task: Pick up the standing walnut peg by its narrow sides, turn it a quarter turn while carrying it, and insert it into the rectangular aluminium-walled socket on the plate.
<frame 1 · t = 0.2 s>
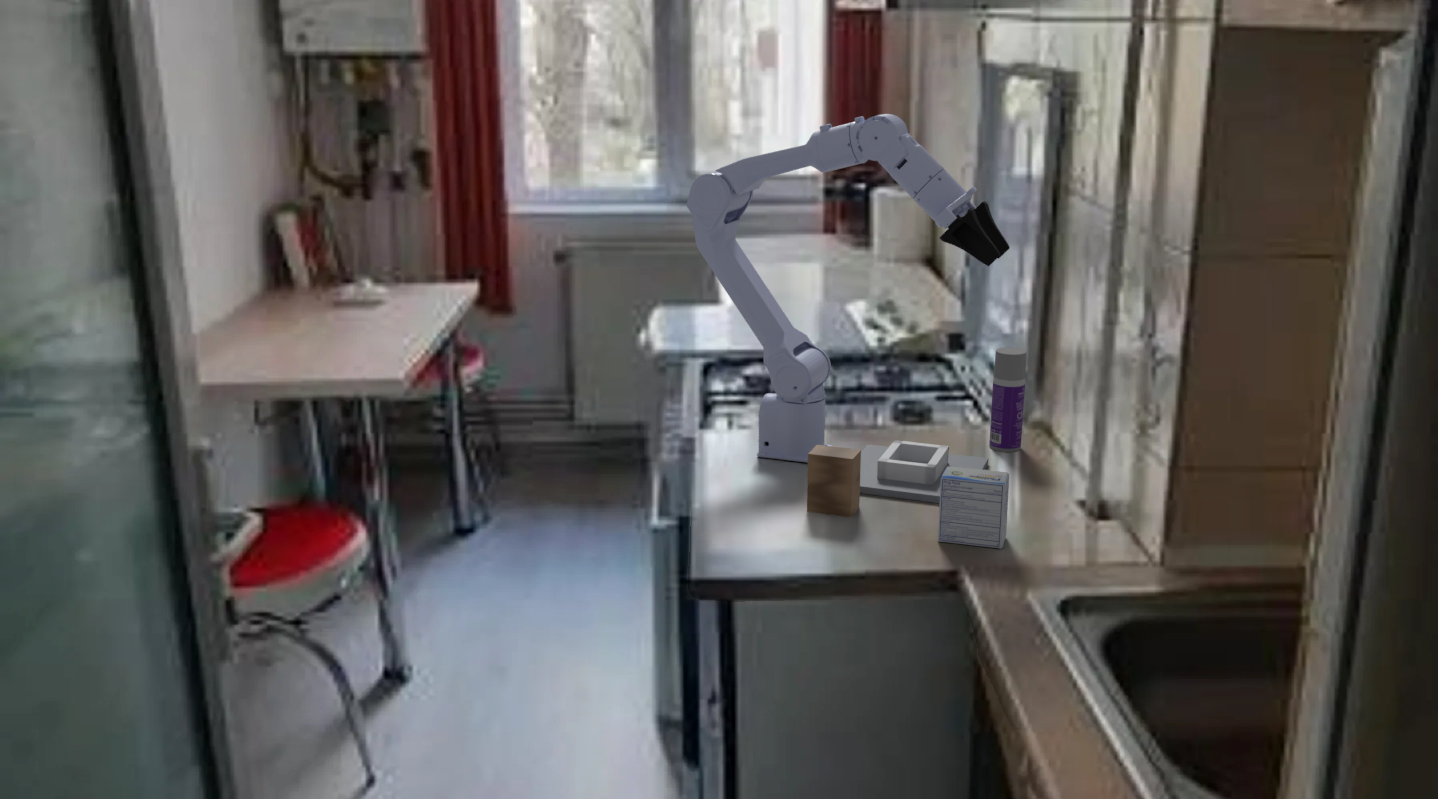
hand: (999, 257, 170), 31 cm above the countertop, tool tilted 45°, fingers open, 7 cm apart
container: (1004, 448, 192), on the countertop
socket plate: (912, 476, 179), on the countertop
walnut peg: (833, 509, 167), on the countertop
medicine box: (971, 541, 157), on the countertop
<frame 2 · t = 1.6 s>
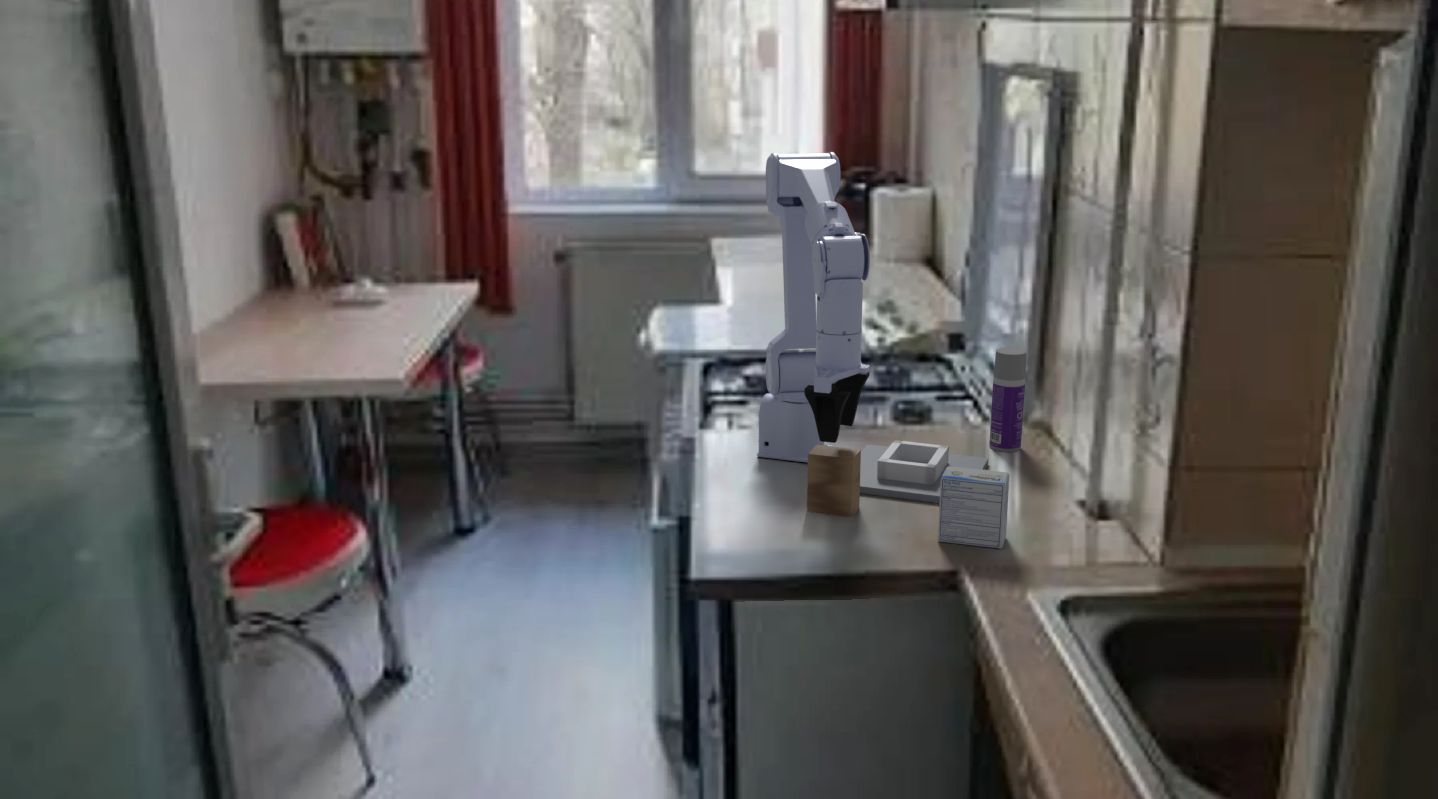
hand: (836, 432, 164), 11 cm above the countertop, tool pointing down, fingers open, 7 cm apart
nothing on the countertop moved.
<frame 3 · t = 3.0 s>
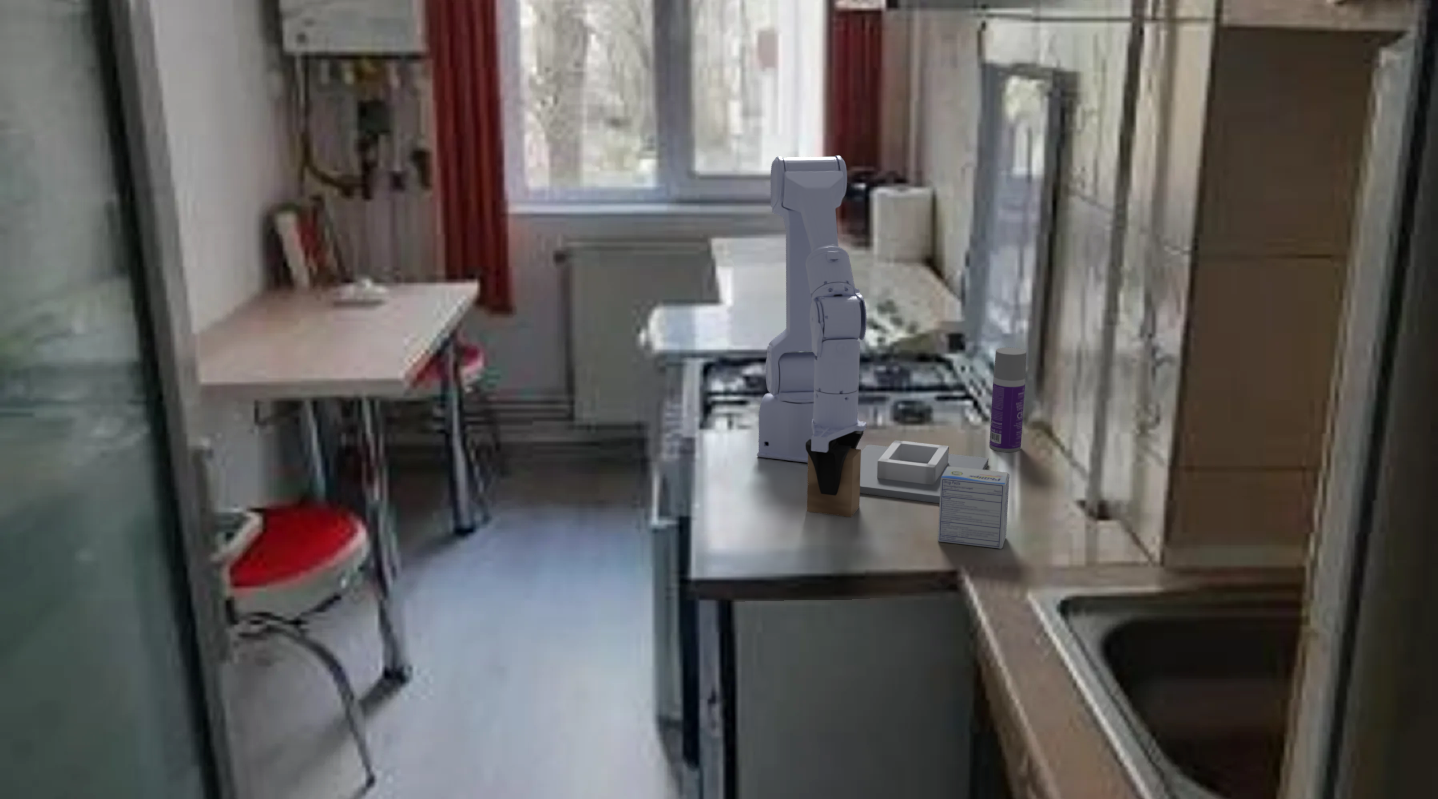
hand: (833, 488, 167), 3 cm above the countertop, tool pointing down, fingers closed on walnut peg, 4 cm apart
walnut peg: (833, 509, 167), on the countertop, touching gripper
everything else where it was.
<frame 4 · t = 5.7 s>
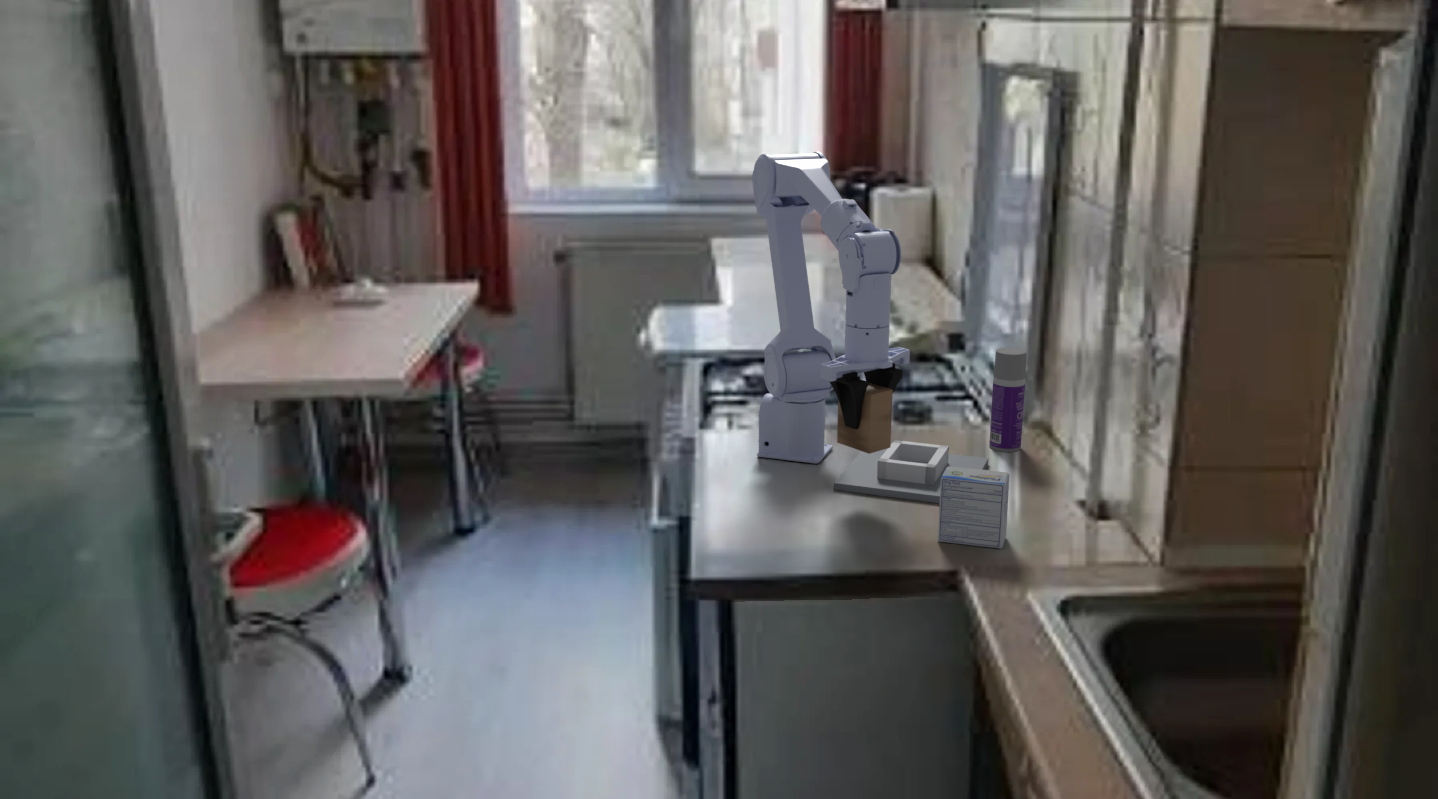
hand: (864, 423, 169), 10 cm above the countertop, tool pointing down, fingers closed on walnut peg, 4 cm apart
walnut peg: (863, 445, 170), point 7 cm above the countertop, touching gripper
everything else where it was.
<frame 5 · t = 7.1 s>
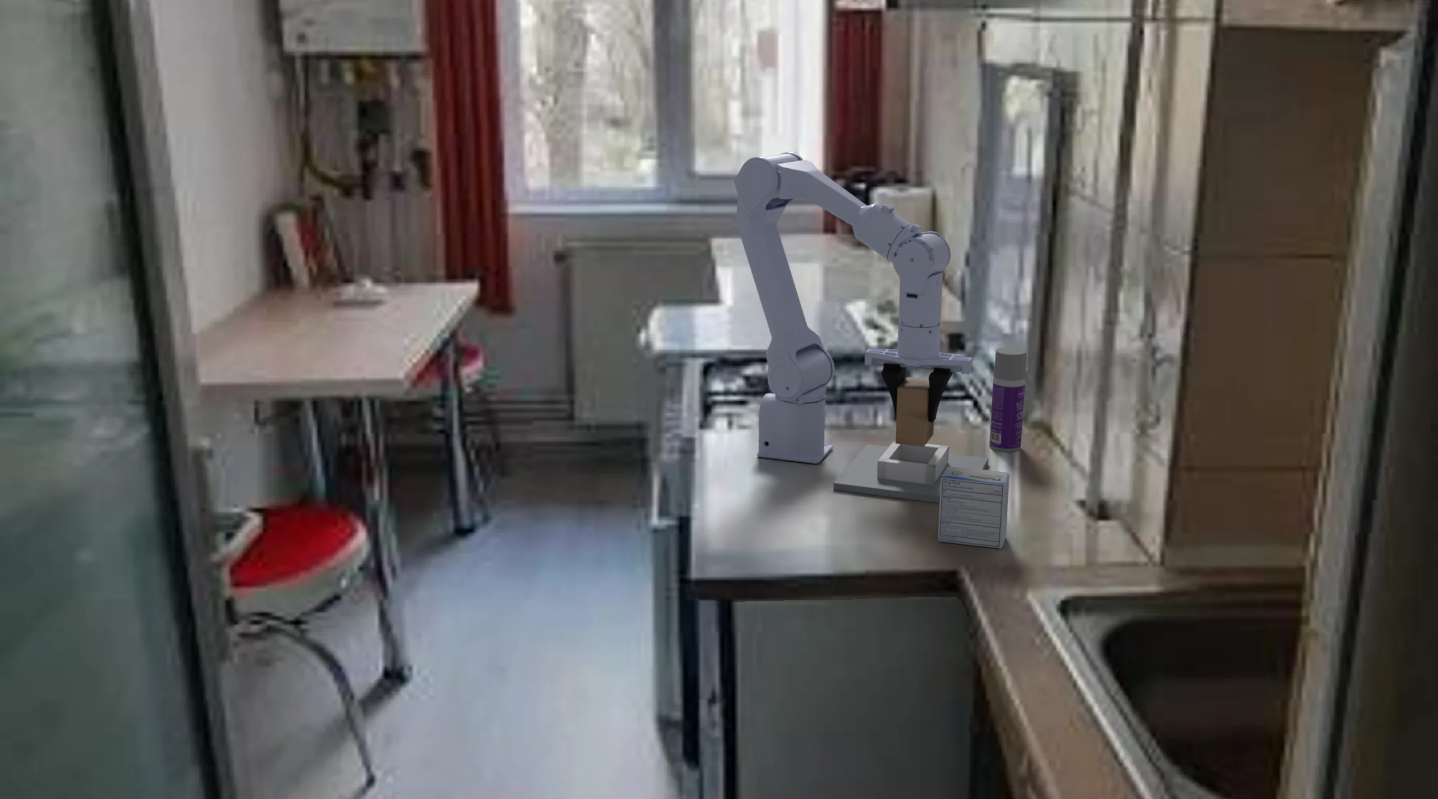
hand: (915, 418, 177), 9 cm above the countertop, tool pointing down, fingers closed on walnut peg, 4 cm apart
walnut peg: (914, 438, 178), point 6 cm above the countertop, touching gripper
everything else where it was.
when the fingers open (5 cm above the countertop, at t = 8.3 s): walnut peg stays where it is, resting on socket plate.
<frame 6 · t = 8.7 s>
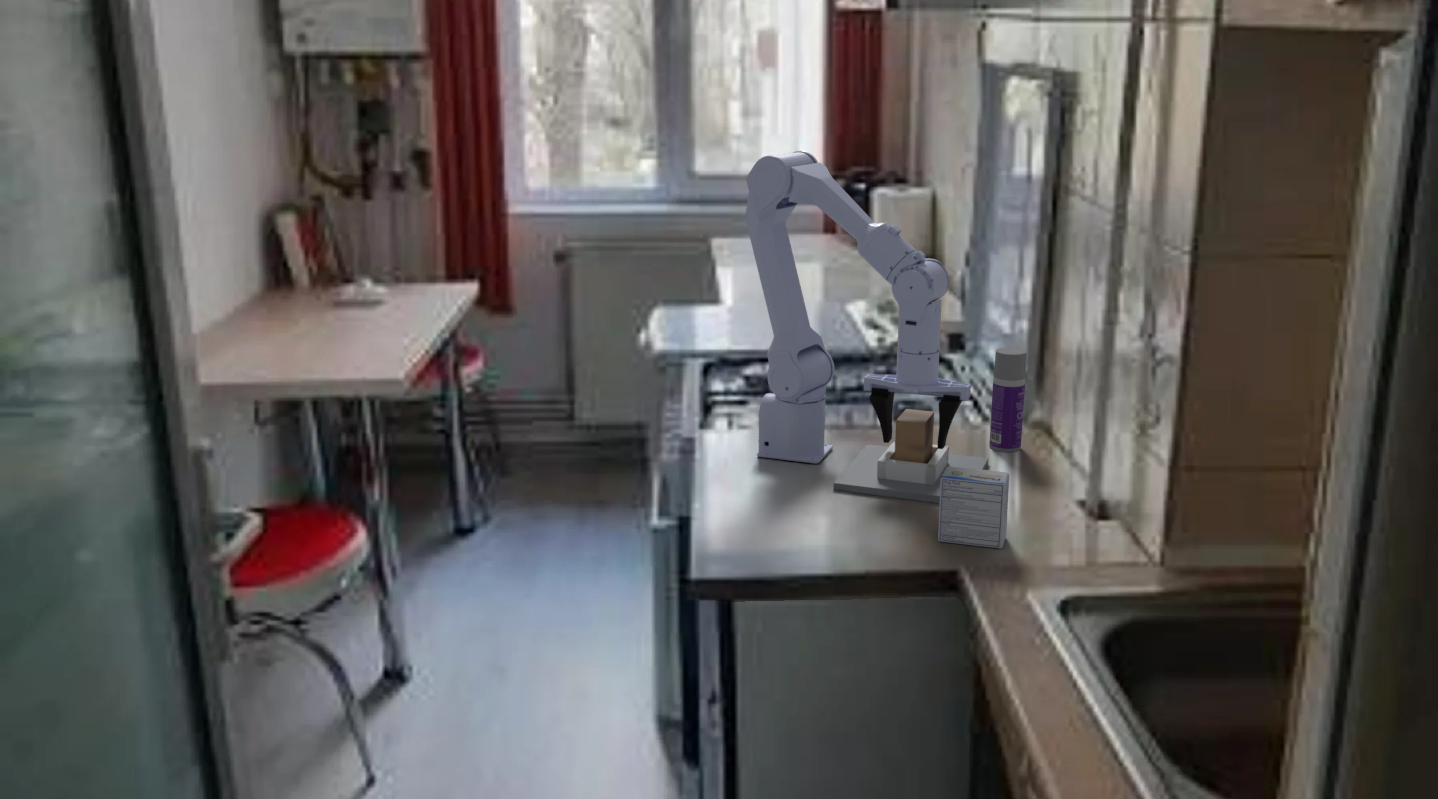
hand: (914, 443, 178), 5 cm above the countertop, tool pointing down, fingers open, 7 cm apart
walnut peg: (913, 470, 179), point 1 cm above the countertop, touching socket plate
everything else where it was.
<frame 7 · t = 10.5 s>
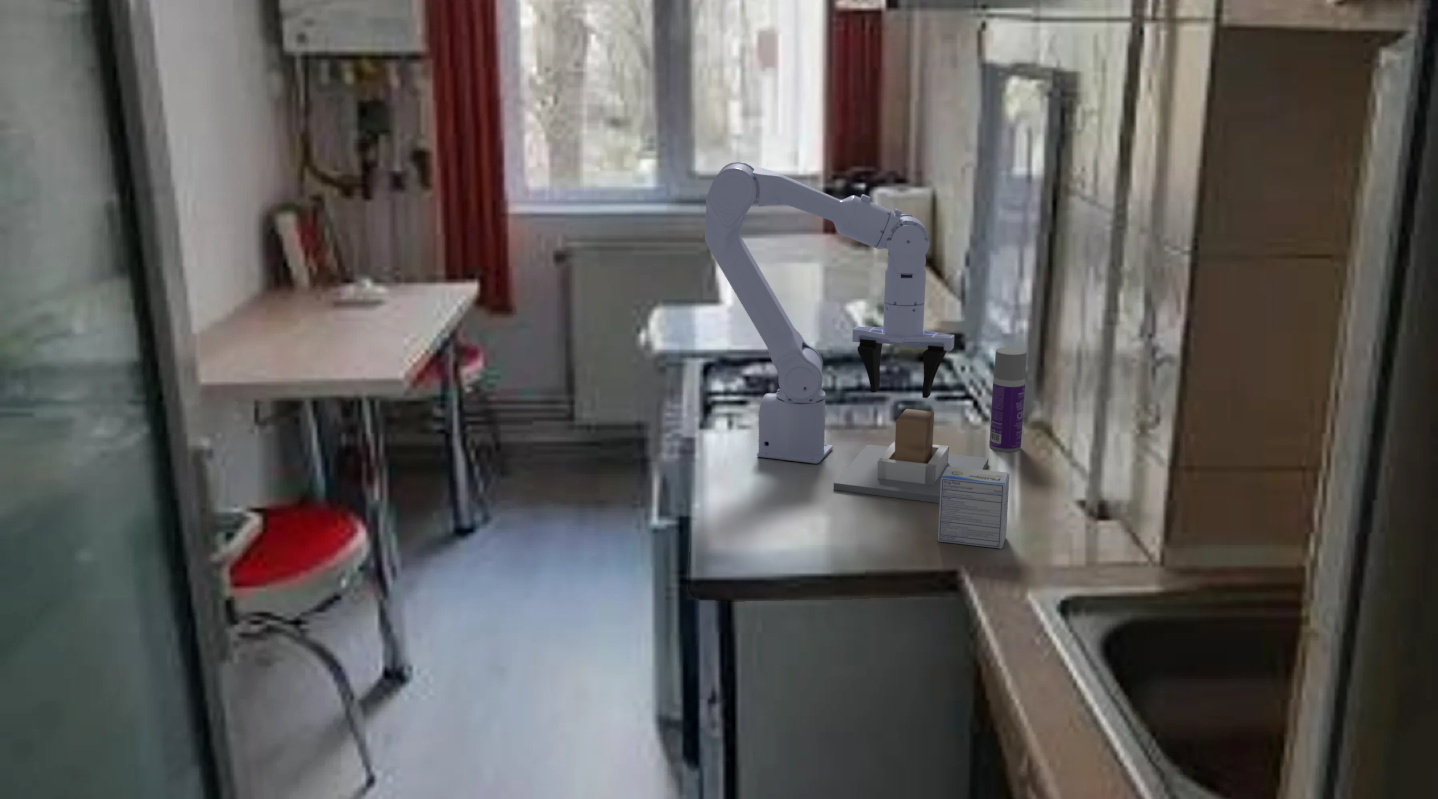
hand: (900, 393, 185), 10 cm above the countertop, tool pointing down, fingers open, 7 cm apart
nothing on the countertop moved.
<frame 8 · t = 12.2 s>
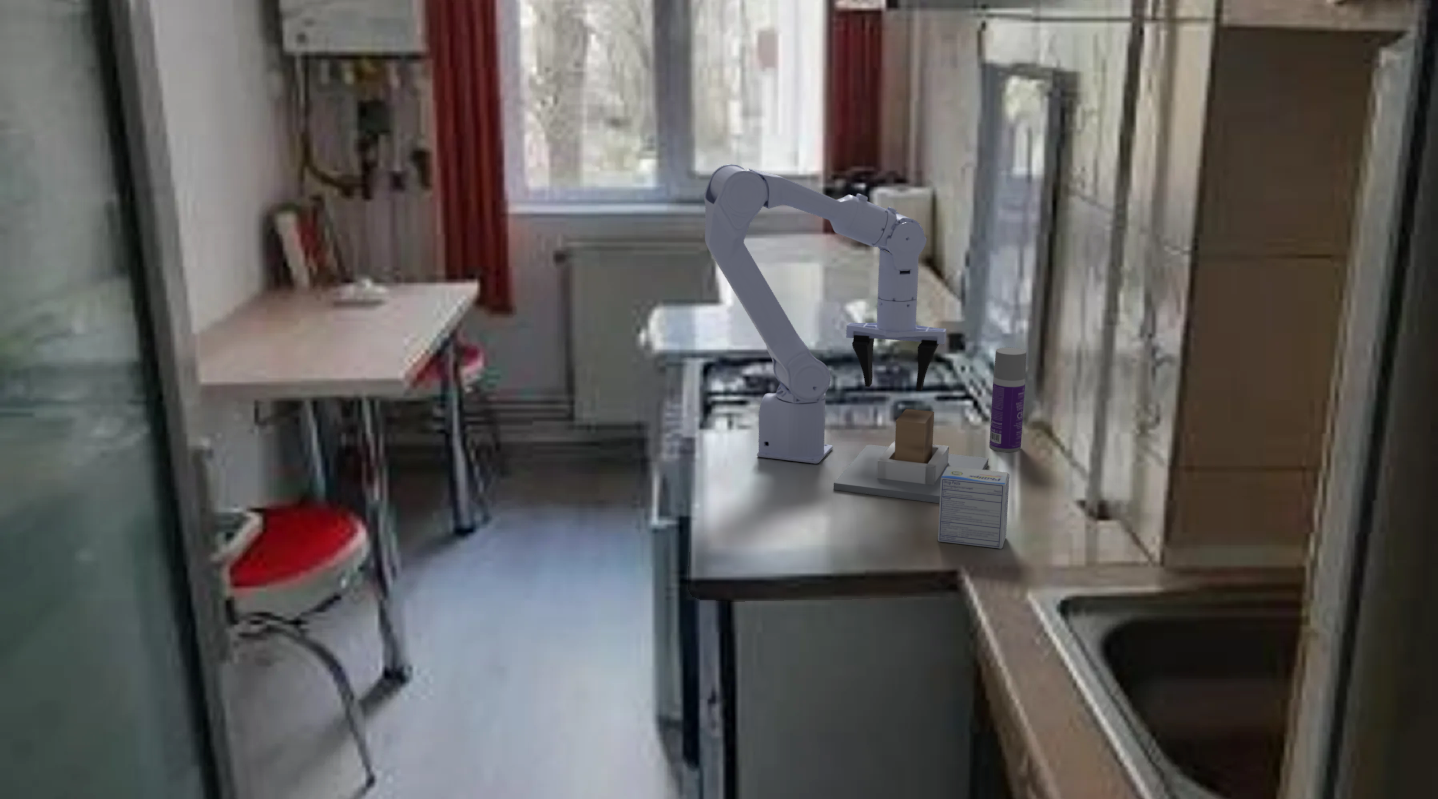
hand: (893, 387, 189), 9 cm above the countertop, tool pointing down, fingers open, 7 cm apart
nothing on the countertop moved.
at the end: walnut peg 0.1 cm off-centre on the socket plate, point 1.0 cm above the socket plate's base; walnut peg tilted 0°; the gripper is holding nothing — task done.
